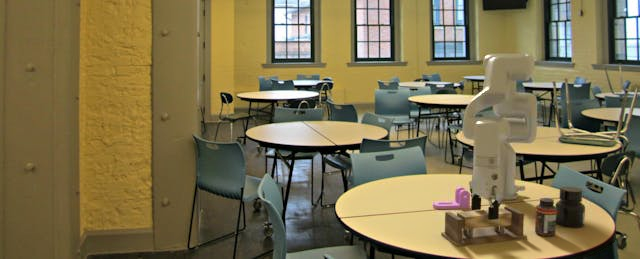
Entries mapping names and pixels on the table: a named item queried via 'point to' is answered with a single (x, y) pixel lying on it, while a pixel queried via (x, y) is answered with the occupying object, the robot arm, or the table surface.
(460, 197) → the bracket
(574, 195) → the ink bottle
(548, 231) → the supplement bottle
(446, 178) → the table surface
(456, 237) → the holder
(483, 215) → the plank
